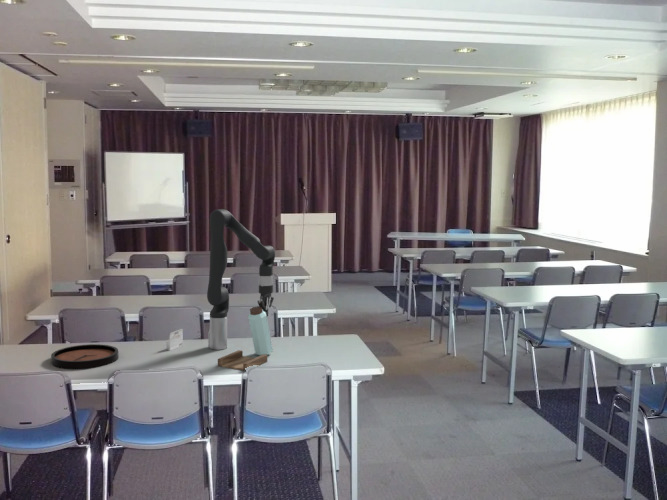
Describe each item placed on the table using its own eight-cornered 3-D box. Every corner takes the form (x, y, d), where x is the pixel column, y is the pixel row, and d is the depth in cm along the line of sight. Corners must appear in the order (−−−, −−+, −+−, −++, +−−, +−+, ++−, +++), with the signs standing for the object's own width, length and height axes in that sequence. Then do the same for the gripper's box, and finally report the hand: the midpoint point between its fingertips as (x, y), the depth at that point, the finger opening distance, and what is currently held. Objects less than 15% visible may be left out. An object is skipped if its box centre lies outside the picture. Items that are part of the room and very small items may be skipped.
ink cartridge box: (166, 350, 333) (166, 332, 332) (179, 345, 343) (179, 328, 342) (169, 350, 332) (169, 332, 331) (183, 346, 342) (183, 328, 341)
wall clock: (98, 341, 334) (130, 352, 314) (98, 348, 335) (130, 360, 315) (39, 352, 311) (70, 365, 290) (39, 360, 311) (70, 374, 291)
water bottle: (270, 356, 323) (262, 313, 315) (252, 356, 326) (243, 313, 317) (275, 347, 333) (268, 304, 324) (258, 347, 335) (249, 305, 327)
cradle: (217, 365, 307) (217, 358, 307) (238, 356, 323) (238, 350, 323) (247, 371, 300) (247, 364, 299) (267, 361, 316) (267, 354, 315)
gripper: (266, 281, 334) (266, 313, 336) (252, 285, 322) (252, 318, 324) (278, 282, 330) (278, 314, 332) (265, 286, 319) (265, 319, 321)
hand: (265, 316), depth 328 cm, fingers closed
